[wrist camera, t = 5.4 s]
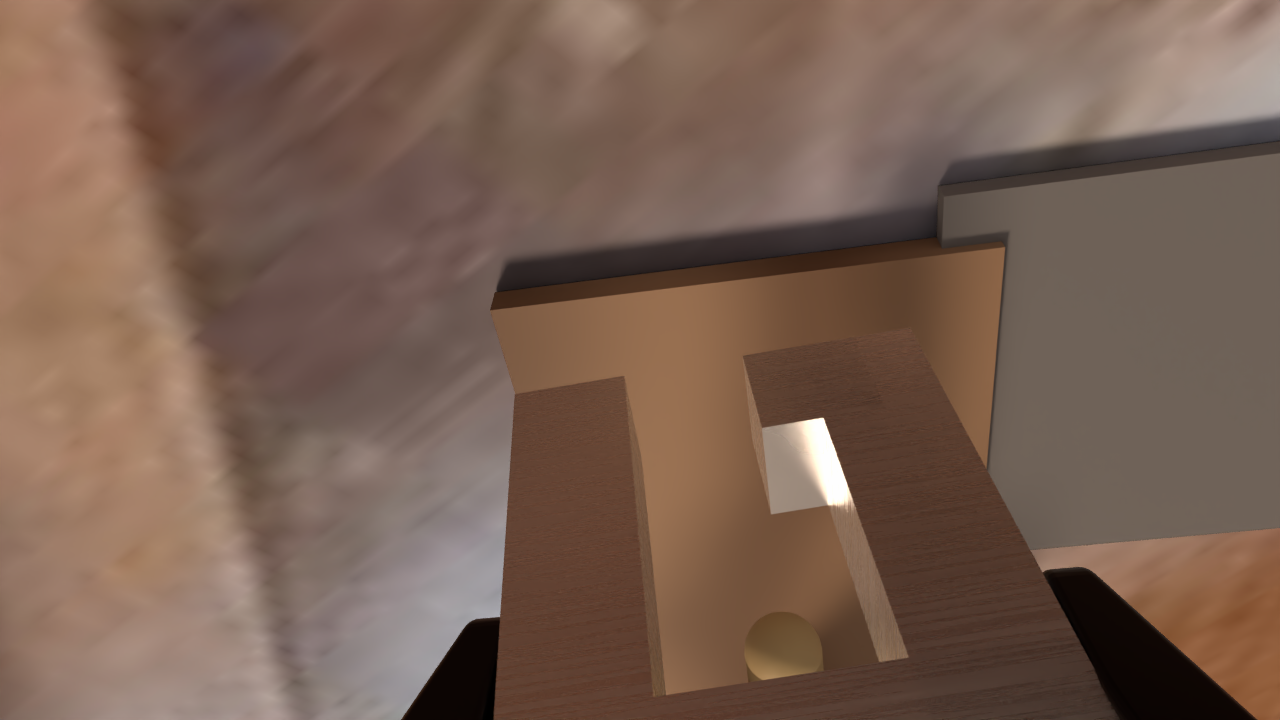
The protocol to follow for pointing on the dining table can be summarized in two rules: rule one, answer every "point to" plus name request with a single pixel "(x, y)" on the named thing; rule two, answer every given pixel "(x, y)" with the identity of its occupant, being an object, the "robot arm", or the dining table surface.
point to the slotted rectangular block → (793, 480)
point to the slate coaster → (1134, 344)
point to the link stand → (721, 431)
